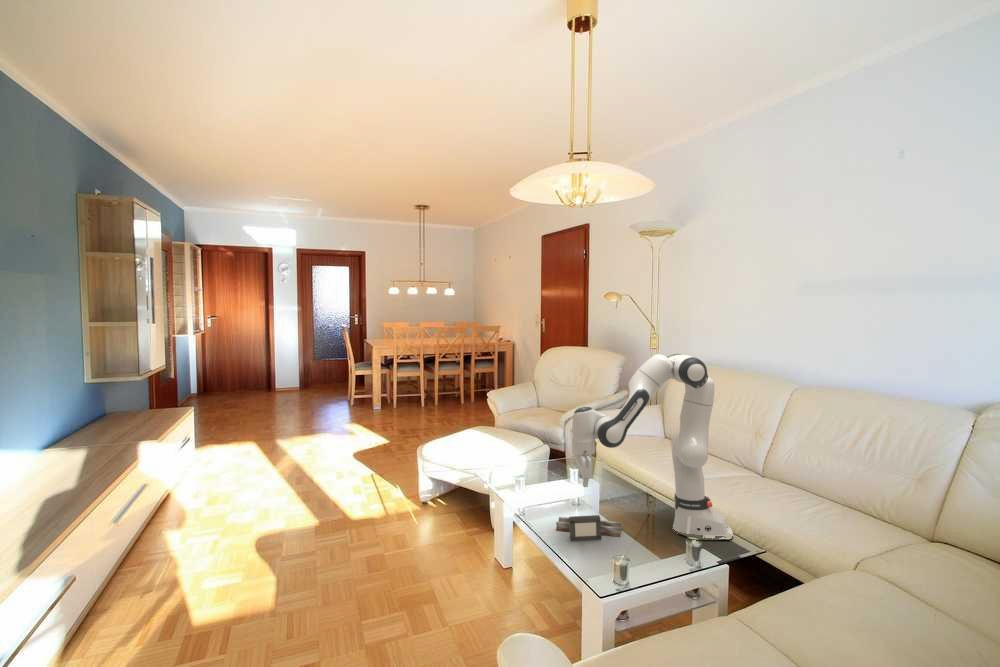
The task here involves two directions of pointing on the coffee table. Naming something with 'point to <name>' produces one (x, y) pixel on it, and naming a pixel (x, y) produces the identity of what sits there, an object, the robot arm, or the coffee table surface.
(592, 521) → the frame
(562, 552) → the coffee table surface
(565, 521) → the ledge
